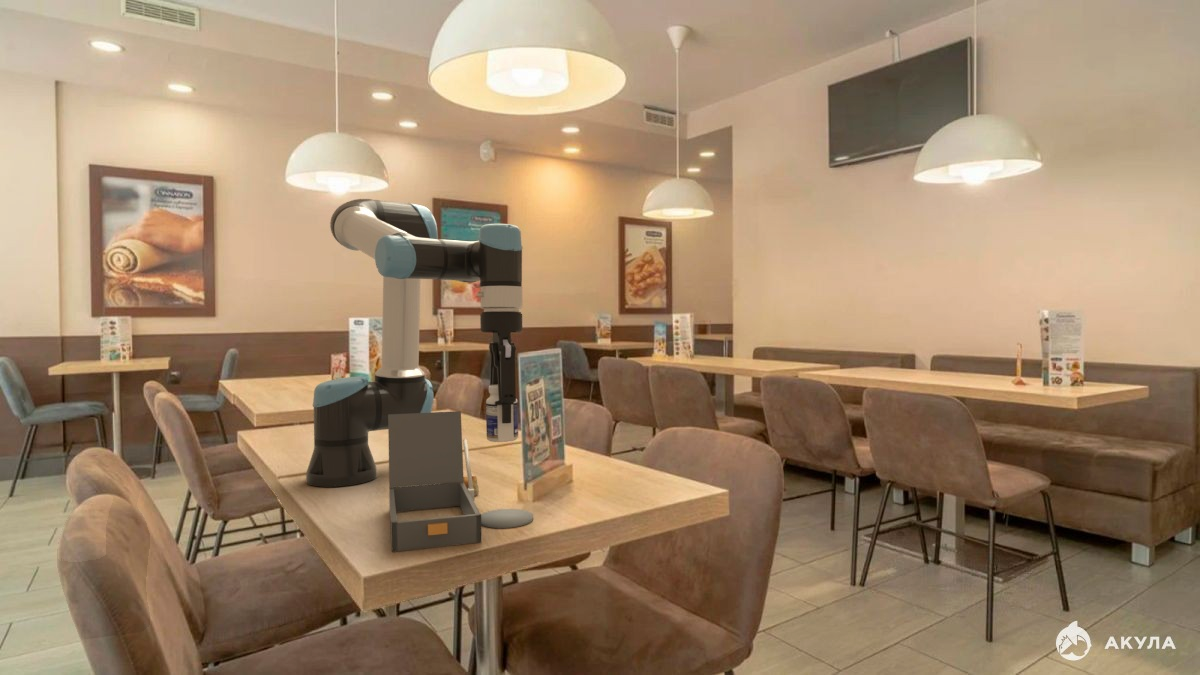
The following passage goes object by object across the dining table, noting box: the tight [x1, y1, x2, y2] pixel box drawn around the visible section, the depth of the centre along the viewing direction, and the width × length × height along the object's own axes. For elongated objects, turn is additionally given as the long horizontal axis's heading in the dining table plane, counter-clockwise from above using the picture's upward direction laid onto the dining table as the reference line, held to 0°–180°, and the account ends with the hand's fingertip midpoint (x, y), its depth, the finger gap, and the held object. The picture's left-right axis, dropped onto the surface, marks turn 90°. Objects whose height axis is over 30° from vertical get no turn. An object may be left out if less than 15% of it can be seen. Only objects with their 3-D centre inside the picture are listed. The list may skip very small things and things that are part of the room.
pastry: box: [442, 475, 480, 497], centre depth 140 cm, size 9×7×4 cm
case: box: [387, 410, 482, 553], centre depth 119 cm, size 29×15×18 cm, turn 19°
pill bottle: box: [485, 384, 519, 443], centre depth 120 cm, size 6×6×10 cm
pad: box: [481, 508, 534, 529], centre depth 121 cm, size 10×10×1 cm
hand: (502, 438), depth 120 cm, fingers closed on pill bottle, 6 cm apart
